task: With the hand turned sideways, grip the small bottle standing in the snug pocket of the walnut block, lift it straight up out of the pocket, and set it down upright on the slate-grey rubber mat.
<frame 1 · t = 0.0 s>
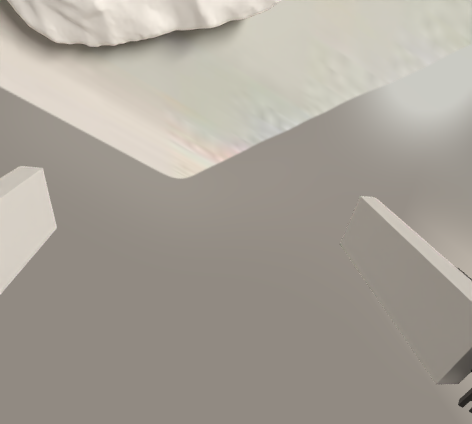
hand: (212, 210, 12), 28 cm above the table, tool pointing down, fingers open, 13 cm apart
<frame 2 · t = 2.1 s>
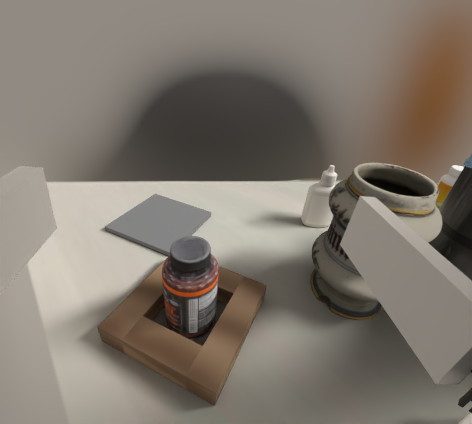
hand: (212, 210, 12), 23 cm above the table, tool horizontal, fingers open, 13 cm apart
apothecary jar: (344, 290, 39), on the table
supplement bottle: (191, 318, 33), resting in pocket block
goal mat: (161, 222, 48), on the table
pocket block: (191, 317, 33), on the table
eye dropper bottle: (315, 223, 52), on the table
supplement bottle 2: (439, 208, 62), on the table
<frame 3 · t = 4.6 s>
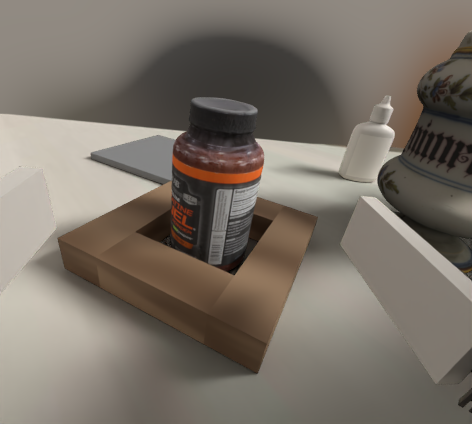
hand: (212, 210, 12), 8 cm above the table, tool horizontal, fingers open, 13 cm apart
apothecary jar: (417, 242, 28), on the table
supplement bottle: (207, 253, 22), resting in pocket block
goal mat: (165, 159, 37), on the table
pocket block: (207, 251, 21), on the table
eye dropper bottle: (355, 179, 42), on the table
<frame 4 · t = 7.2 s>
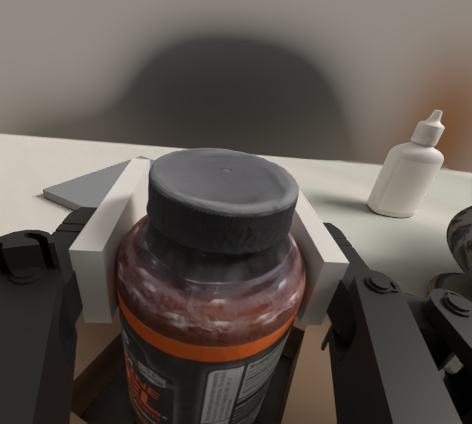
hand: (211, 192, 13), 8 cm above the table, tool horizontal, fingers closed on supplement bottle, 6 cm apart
supplement bottle: (197, 392, 13), resting in pocket block, touching gripper
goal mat: (146, 193, 29), on the table
pocket block: (197, 389, 13), on the table
eye dropper bottle: (388, 212, 34), on the table
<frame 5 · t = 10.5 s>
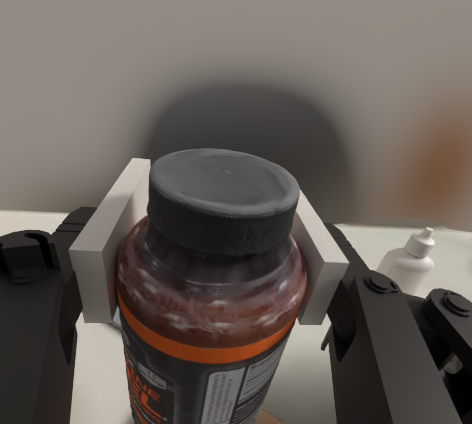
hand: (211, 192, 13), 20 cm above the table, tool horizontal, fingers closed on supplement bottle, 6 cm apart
supplement bottle: (197, 393, 13), point 12 cm above the table, touching gripper
eye dropper bottle: (383, 300, 37), on the table
when the fingers open (10 cm above the table, at t = 13.9 s): supplement bottle drops 1 cm, resting on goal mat.
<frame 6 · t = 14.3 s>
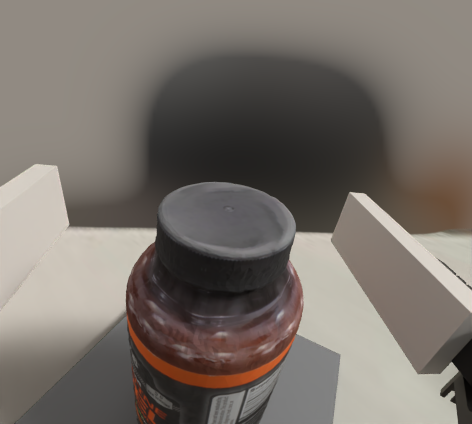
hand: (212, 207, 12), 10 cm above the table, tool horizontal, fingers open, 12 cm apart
supplement bottle: (200, 405, 13), point 1 cm above the table, touching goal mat
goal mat: (195, 410, 14), on the table
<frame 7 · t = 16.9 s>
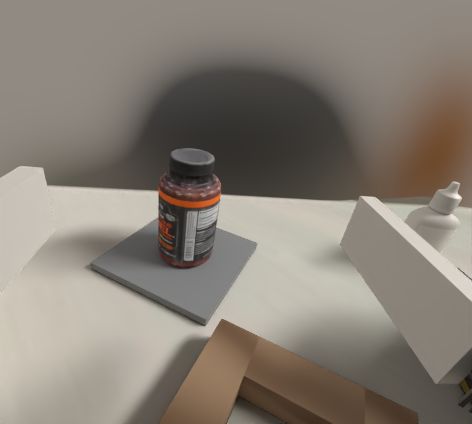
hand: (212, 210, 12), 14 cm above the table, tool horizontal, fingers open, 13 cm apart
supplement bottle: (185, 253, 30), point 1 cm above the table, touching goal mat
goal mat: (183, 257, 30), on the table
eye dropper bottle: (405, 266, 36), on the table
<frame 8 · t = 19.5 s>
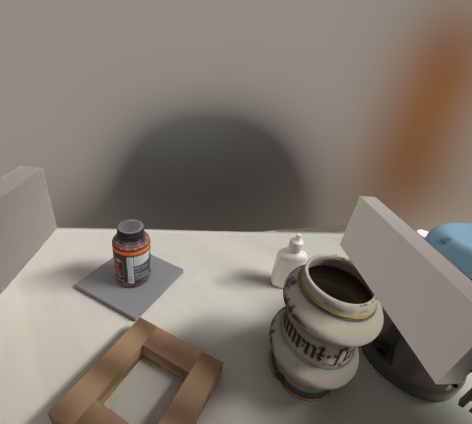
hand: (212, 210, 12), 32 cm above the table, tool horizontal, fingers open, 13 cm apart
apothecary jar: (301, 365, 40), on the table
supplement bottle: (133, 277, 49), point 1 cm above the table, touching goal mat
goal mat: (132, 279, 49), on the table
pocket block: (145, 395, 33), on the table
eye dropper bottle: (283, 283, 54), on the table
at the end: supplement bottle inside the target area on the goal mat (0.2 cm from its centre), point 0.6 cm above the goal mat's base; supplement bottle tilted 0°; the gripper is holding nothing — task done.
